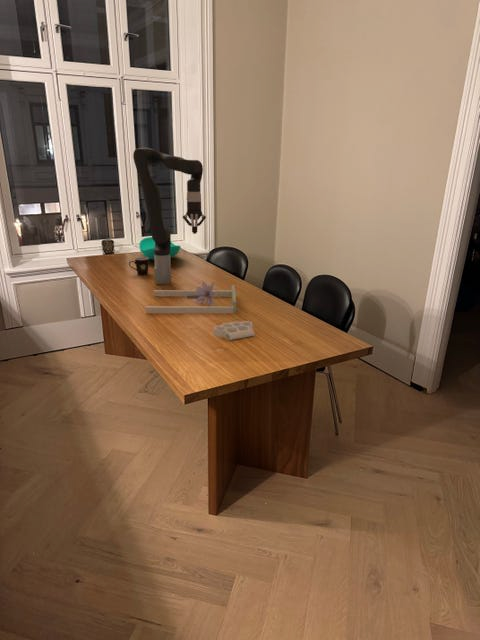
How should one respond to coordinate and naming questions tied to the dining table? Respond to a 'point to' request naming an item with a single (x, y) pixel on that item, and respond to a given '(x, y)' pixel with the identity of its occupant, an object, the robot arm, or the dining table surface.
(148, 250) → the table top decor
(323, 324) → the dining table surface
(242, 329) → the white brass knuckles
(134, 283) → the dining table surface
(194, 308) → the grey u-shaped frame
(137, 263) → the coffee mug
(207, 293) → the water lily
